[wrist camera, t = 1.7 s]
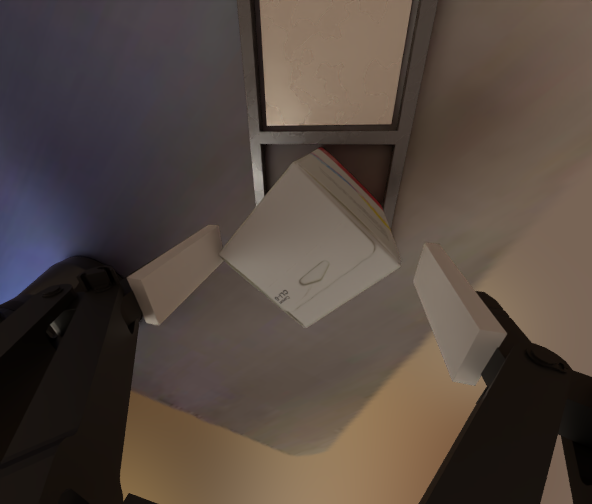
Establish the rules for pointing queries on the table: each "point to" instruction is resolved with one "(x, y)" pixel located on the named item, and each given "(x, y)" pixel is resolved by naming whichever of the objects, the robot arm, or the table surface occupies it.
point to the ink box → (313, 240)
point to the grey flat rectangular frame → (333, 75)
